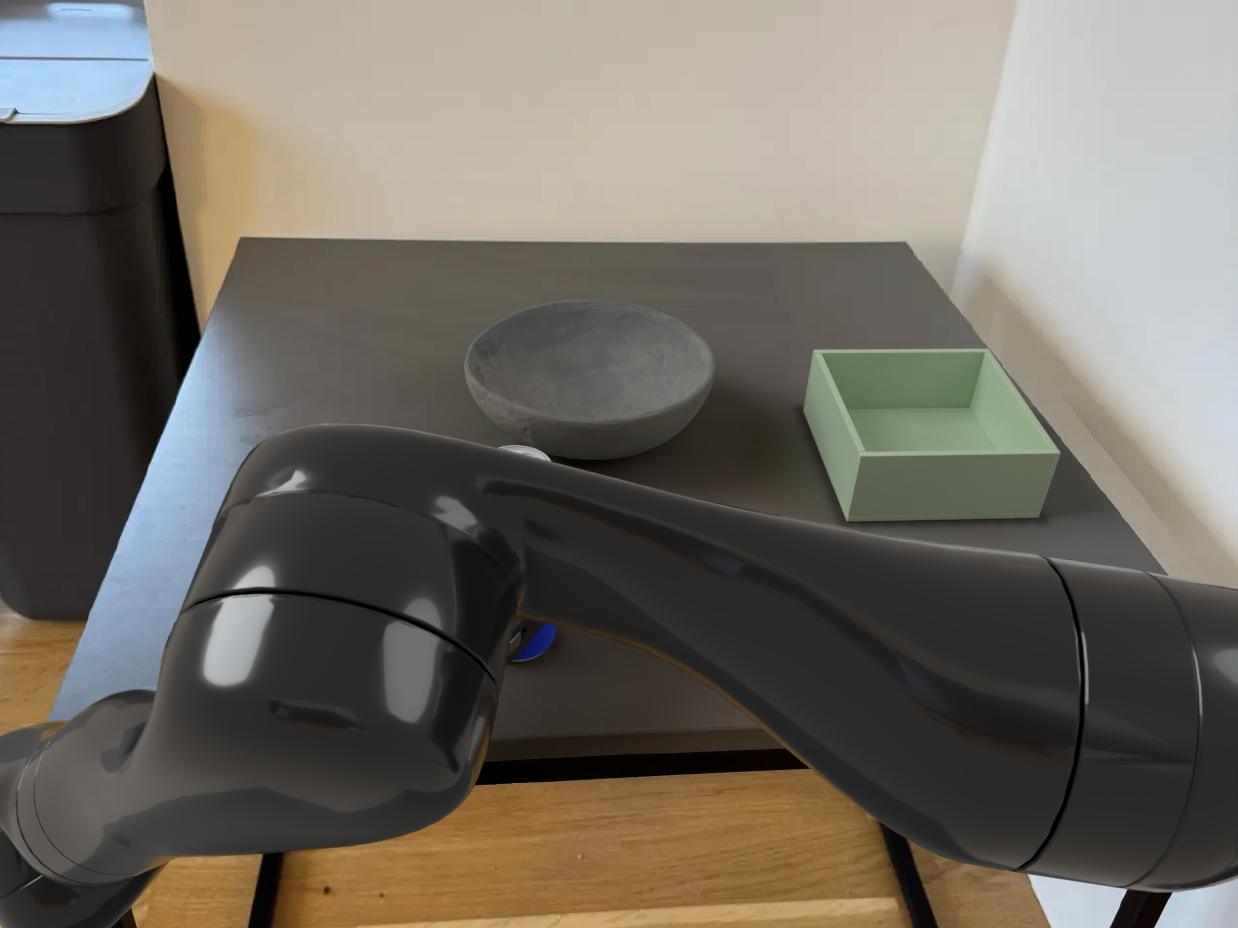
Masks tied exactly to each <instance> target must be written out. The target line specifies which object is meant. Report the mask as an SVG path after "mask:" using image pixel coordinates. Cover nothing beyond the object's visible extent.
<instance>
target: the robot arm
mask: <svg viewBox="0 0 1238 928" xmlns="http://www.w3.org/2000/svg"><path fill="white" fill-rule="evenodd" d="M187 589H188V590H187V592H186V593H185V597H184V600H183V602H182V605H181V606H180V610H179V612H178V615H177V617H176V620H175V621H174V623H173V625H172V627H171V629H170V632H169V634H168V636H167V639H166V642H165V644H164V648H163V651H162V655H161V659H160V662H159V663H160V664H159V669H158V675H157V683H156V685H144V686H135V687H130V688H125V689H122V690H120V691H117V692H113V693H111V694H108V695H106V696H104V697H102V698H100V699H98V700H96V701H94V702H92V703H91V704H89V705H87V706H85V707H84V708H83V709H82V710H80V711H79V712H78V713H76V714H75V715H73V717H71V718H70V719H65V720H64V719H61V720H60V719H59V720H51V721H50V720H49V721H45V722H39V723H34V724H29V725H27V726H24V727H20V728H17V729H14V730H11V731H9V732H7V733H4V734H2V735H0V927H1V928H112V927H113V926H114V925H115V924H116V923H117V922H119V920H121V918H122V917H123V916H124V915H125V914H126V913H127V912H128V911H129V910H130V909H131V908H132V907H133V906H134V905H135V903H136V902H137V901H138V900H139V899H140V898H141V896H142V895H144V892H146V890H148V889H149V887H150V886H151V884H152V883H154V881H155V880H156V879H157V877H158V876H159V875H160V874H161V873H162V871H163V870H164V869H165V868H166V867H167V866H168V865H169V863H170V862H171V861H173V860H176V859H183V858H203V857H204V858H205V857H206V858H207V857H208V858H211V857H212V858H216V857H234V856H237V857H238V856H254V855H255V856H256V855H266V854H278V853H289V852H291V853H292V852H303V851H316V850H328V849H338V848H349V847H357V846H363V845H370V844H374V843H379V842H383V841H388V840H392V839H396V838H401V837H404V836H406V835H410V834H413V833H416V832H419V831H422V830H424V829H426V828H428V827H430V826H432V825H434V824H436V823H438V822H439V823H440V822H441V820H443V819H444V818H446V817H447V816H449V815H450V814H452V813H453V812H455V811H456V810H457V809H458V808H459V807H460V806H461V805H463V803H464V802H465V801H466V799H467V798H468V797H469V796H470V794H471V793H472V791H473V789H474V787H475V785H476V783H477V781H478V779H479V776H480V774H481V771H482V769H483V765H484V763H485V759H486V756H487V753H488V750H489V748H490V747H489V746H490V743H491V738H492V735H493V732H494V726H495V721H496V717H497V713H498V709H499V704H500V697H501V694H502V689H503V684H504V678H505V674H506V668H507V666H509V665H511V664H512V663H513V662H512V661H513V660H514V659H515V658H516V656H517V655H518V654H519V653H520V652H521V651H522V650H523V649H524V647H525V646H526V645H527V644H528V643H529V642H530V641H531V640H532V639H533V637H534V636H535V635H536V634H537V633H538V632H539V631H540V630H541V629H542V627H543V626H544V625H545V624H546V623H551V624H555V626H561V627H564V628H568V629H572V630H577V631H580V632H584V633H586V634H590V635H593V636H596V637H599V638H603V639H607V640H610V641H612V642H616V643H619V644H622V645H625V646H629V647H631V648H634V649H637V650H640V651H642V652H644V653H646V654H648V655H651V656H653V657H655V658H657V659H660V660H662V661H664V662H666V663H668V664H670V665H671V666H673V667H675V668H677V669H678V670H681V671H682V672H684V673H686V674H688V675H689V676H691V677H693V678H694V679H696V680H697V681H699V682H701V683H702V684H704V685H705V686H707V687H708V688H710V689H711V690H713V691H714V692H715V693H717V694H718V695H720V696H721V697H722V698H723V699H725V700H726V701H727V702H728V703H729V704H731V705H732V706H733V707H735V708H736V709H738V710H739V711H740V712H741V713H742V714H744V715H745V716H746V717H748V718H749V719H750V720H751V721H753V722H754V723H755V724H756V725H757V726H759V728H761V729H762V731H763V730H764V731H765V732H766V733H767V734H768V735H769V736H770V737H772V738H773V739H774V740H775V741H776V742H777V743H779V744H780V745H781V746H782V747H784V748H785V749H786V750H787V751H788V752H790V753H791V754H792V755H793V756H794V757H796V758H797V759H798V760H799V761H800V762H802V764H804V765H805V766H806V767H808V768H809V769H810V770H811V771H812V772H814V773H815V774H816V775H818V777H820V778H821V779H822V780H824V781H825V782H826V783H827V784H828V785H829V786H831V787H832V788H833V789H834V790H836V791H837V792H839V793H840V794H842V795H843V796H844V797H846V798H847V799H848V800H849V801H851V802H852V803H853V804H855V805H856V806H857V807H859V808H860V809H861V810H863V811H864V812H865V813H867V814H868V815H869V816H871V817H872V818H874V819H875V820H877V821H878V822H880V823H881V824H883V825H884V826H885V827H887V828H889V829H890V830H892V831H893V832H895V833H896V834H898V835H900V836H902V837H903V838H905V839H906V840H908V841H910V842H911V843H913V844H915V845H916V846H918V847H919V848H922V849H924V850H926V851H928V852H931V853H933V854H935V855H937V856H939V857H941V858H943V859H946V860H947V859H948V860H950V861H954V862H957V863H959V864H963V865H964V864H965V865H969V866H974V867H980V868H985V869H991V870H997V871H1003V872H1004V871H1005V872H1006V871H1007V872H1011V873H1018V874H1024V875H1030V876H1036V877H1043V878H1050V879H1056V880H1057V879H1058V880H1064V881H1070V882H1077V883H1083V884H1089V885H1096V886H1103V887H1109V888H1116V889H1122V890H1123V889H1124V890H1129V891H1137V892H1138V891H1139V892H1148V893H1181V892H1188V891H1194V890H1200V889H1206V888H1207V889H1208V888H1212V887H1217V886H1219V885H1222V884H1227V883H1230V882H1233V881H1235V880H1238V588H1233V587H1228V586H1223V585H1216V584H1211V583H1206V582H1200V581H1195V580H1190V579H1185V578H1181V577H1176V576H1171V575H1167V574H1161V573H1156V572H1151V571H1145V570H1140V569H1134V568H1130V567H1123V566H1117V565H1110V564H1105V563H1104V564H1103V563H1098V562H1097V563H1096V562H1090V561H1084V560H1078V559H1072V558H1065V557H1059V556H1052V555H1045V554H1040V553H1033V552H1025V551H1019V550H1018V551H1017V550H1008V549H999V548H990V547H983V546H974V545H967V544H966V545H965V544H958V543H951V542H942V541H934V540H927V539H920V538H914V537H907V536H900V535H896V534H895V535H894V534H889V533H882V532H876V531H870V530H863V529H860V528H859V529H858V528H853V527H847V526H841V525H835V524H830V523H824V522H818V521H811V520H806V519H799V518H795V517H790V516H785V515H779V514H774V513H769V512H763V511H759V510H754V509H749V508H745V507H739V506H734V505H729V504H724V503H719V502H715V501H710V500H705V499H701V498H698V497H697V498H696V497H693V496H688V495H684V494H680V493H675V492H671V491H667V490H663V489H660V488H657V487H652V486H649V485H644V484H640V483H637V482H634V481H628V480H625V479H621V478H617V477H614V476H609V475H606V474H602V473H598V472H593V471H590V470H585V469H582V468H579V467H574V466H569V465H566V464H563V463H558V462H555V461H552V460H551V461H547V460H543V459H539V458H536V457H532V456H528V455H524V454H520V453H516V452H512V451H508V450H504V449H500V447H495V446H492V445H487V444H482V443H479V442H474V441H470V440H466V439H461V438H458V437H454V436H450V435H449V436H448V435H444V434H440V433H439V434H438V433H435V432H429V431H425V430H417V429H412V428H404V427H398V426H391V425H383V424H382V425H381V424H371V423H358V422H324V423H323V422H322V423H315V424H313V423H312V424H304V425H299V426H294V427H291V428H288V429H285V430H282V431H279V432H277V433H275V434H272V435H270V436H268V437H266V438H265V439H262V440H261V441H260V442H258V444H256V445H255V446H254V447H253V448H252V449H251V450H249V452H248V453H247V454H246V455H245V457H244V458H243V460H242V462H241V463H240V465H239V466H238V468H237V470H236V472H235V473H234V475H233V477H232V479H231V481H230V483H229V486H228V488H227V490H226V492H225V495H224V497H223V499H222V502H221V504H220V506H219V509H218V510H217V513H216V516H215V518H214V520H213V523H212V525H211V531H210V534H209V537H208V538H207V542H206V544H205V546H204V548H203V551H202V554H201V557H200V559H199V561H198V564H197V567H196V569H195V571H194V574H193V576H192V579H191V582H190V585H189V586H188V588H187Z"/></svg>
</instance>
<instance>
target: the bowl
mask: <svg viewBox="0 0 1238 928" xmlns="http://www.w3.org/2000/svg"><path fill="white" fill-rule="evenodd" d="M465 355H466V356H465V360H464V364H463V369H464V376H465V381H466V384H467V387H468V390H469V392H470V394H471V396H472V399H473V401H474V402H475V403H476V405H477V406H478V407H479V409H481V411H482V412H483V413H484V414H485V416H486V417H487V418H488V419H489V420H490V421H491V422H492V423H493V424H494V425H495V426H496V427H497V428H499V429H500V430H501V431H502V432H503V433H505V434H506V435H507V436H509V437H510V438H511V439H513V440H515V441H517V442H518V443H520V444H521V445H522V446H527V447H531V448H535V449H537V450H539V451H541V452H543V453H544V454H546V455H550V456H555V457H559V458H566V459H573V460H583V461H584V460H585V461H586V460H587V461H591V460H592V461H599V460H600V461H603V460H616V459H622V458H627V457H628V458H629V457H631V456H635V455H636V456H637V455H639V454H642V453H645V452H647V451H650V450H652V449H655V448H657V447H660V446H661V445H663V444H665V443H666V442H668V441H670V440H672V439H673V438H675V436H677V435H678V434H679V433H681V431H683V430H684V428H685V427H686V426H687V425H689V423H690V422H691V421H692V420H693V419H694V418H695V416H697V414H698V413H699V411H700V409H701V408H702V407H703V405H704V404H705V402H706V400H707V398H708V396H709V394H710V392H711V390H712V387H713V385H714V382H715V378H716V374H717V359H716V356H715V354H714V350H713V349H712V347H711V346H710V344H709V342H708V341H707V340H706V339H705V338H704V337H703V336H702V335H701V334H700V333H699V332H697V331H696V330H695V329H693V328H692V327H691V326H689V324H687V323H685V322H684V321H681V320H680V319H677V318H676V317H674V316H671V315H670V314H667V313H664V312H661V311H659V310H656V309H653V308H650V307H648V306H647V307H646V306H643V305H640V304H634V303H629V302H623V301H614V300H604V299H563V300H555V301H549V302H545V303H540V304H537V305H533V306H529V307H526V308H523V309H520V310H518V311H514V312H512V313H510V314H509V315H507V316H505V317H503V318H501V319H499V320H498V321H495V323H493V324H491V325H490V326H489V327H487V328H486V329H485V330H484V331H482V332H481V333H480V334H478V336H477V337H476V338H475V339H474V340H473V341H472V342H471V344H470V345H469V346H468V350H467V352H466V354H465Z"/></svg>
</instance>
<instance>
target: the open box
mask: <svg viewBox="0 0 1238 928" xmlns="http://www.w3.org/2000/svg"><path fill="white" fill-rule="evenodd" d="M811 356H812V357H811V363H810V369H809V375H808V380H807V387H806V392H805V393H806V394H805V398H804V404H803V410H802V411H803V414H804V416H805V418H806V422H807V424H808V427H809V430H810V432H811V434H812V437H813V440H814V442H815V444H816V447H817V450H818V452H819V455H820V457H821V460H822V462H823V465H824V467H825V470H826V472H827V475H828V478H829V480H830V482H831V485H832V488H833V490H834V493H835V495H836V498H837V501H838V503H839V505H840V508H841V511H842V513H843V516H844V518H845V520H846V522H847V523H852V522H854V523H856V522H857V523H859V522H898V521H899V522H900V521H904V522H905V521H948V520H949V521H952V520H955V521H957V520H997V519H998V520H1000V519H1002V520H1003V519H1004V520H1005V519H1039V518H1040V515H1041V512H1042V509H1043V506H1044V504H1045V500H1046V497H1047V495H1048V492H1049V489H1050V486H1051V484H1052V480H1053V477H1054V475H1055V471H1056V469H1057V466H1058V462H1059V459H1060V457H1061V454H1062V453H1061V451H1060V450H1059V449H1058V447H1057V446H1056V444H1055V443H1054V441H1053V439H1052V438H1051V437H1050V435H1049V434H1048V432H1047V431H1046V429H1045V428H1044V426H1043V425H1042V424H1041V422H1040V421H1039V419H1038V418H1037V417H1036V415H1035V414H1034V412H1033V411H1032V409H1031V408H1030V406H1029V405H1028V404H1027V402H1026V401H1025V400H1024V398H1023V396H1022V395H1021V393H1020V392H1019V391H1018V389H1017V388H1016V386H1015V385H1014V384H1013V381H1012V380H1011V379H1010V378H1009V376H1008V375H1007V373H1006V372H1005V370H1004V369H1003V367H1002V366H1001V364H1000V363H999V361H998V360H997V359H996V357H995V356H994V355H993V353H992V351H991V350H990V348H902V349H900V348H889V349H888V348H886V349H884V348H881V349H880V348H879V349H873V348H872V349H871V348H870V349H866V348H865V349H860V348H859V349H813V351H812V355H811Z"/></svg>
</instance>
